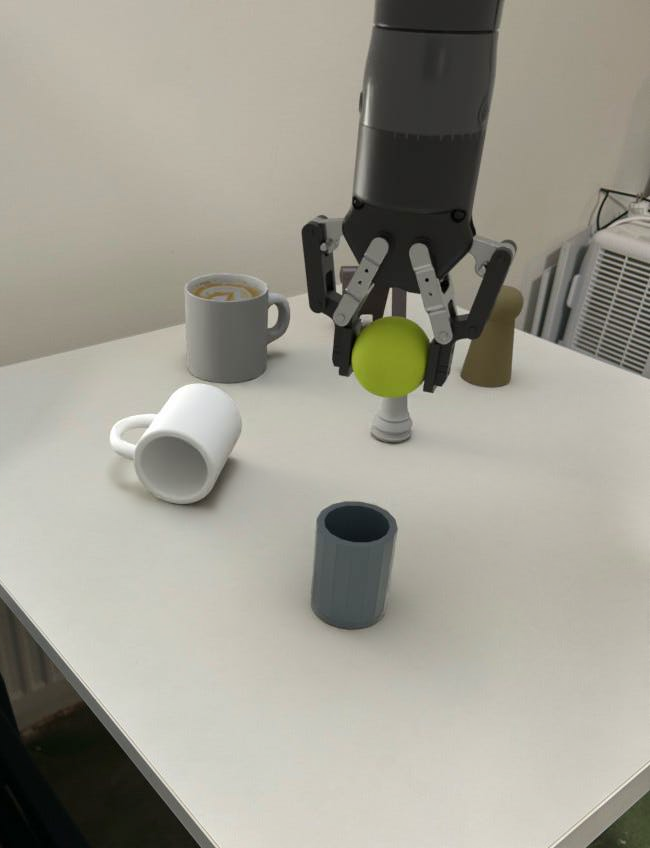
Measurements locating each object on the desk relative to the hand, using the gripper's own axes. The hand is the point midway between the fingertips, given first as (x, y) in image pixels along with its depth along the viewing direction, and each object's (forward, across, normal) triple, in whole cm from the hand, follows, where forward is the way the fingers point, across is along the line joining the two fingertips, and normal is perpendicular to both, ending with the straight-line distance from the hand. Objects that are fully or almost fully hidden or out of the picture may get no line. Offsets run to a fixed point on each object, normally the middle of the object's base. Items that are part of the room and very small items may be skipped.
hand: (388, 379), depth 59 cm
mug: (+18, +22, -8) cm, 30 cm away
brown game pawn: (+18, -2, -44) cm, 48 cm away
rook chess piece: (+18, +4, -25) cm, 31 cm away
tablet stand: (+18, +15, -52) cm, 57 cm away
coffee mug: (+18, +26, -35) cm, 47 cm away
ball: (-2, 0, 0) cm, 2 cm away
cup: (+18, 0, +4) cm, 18 cm away
